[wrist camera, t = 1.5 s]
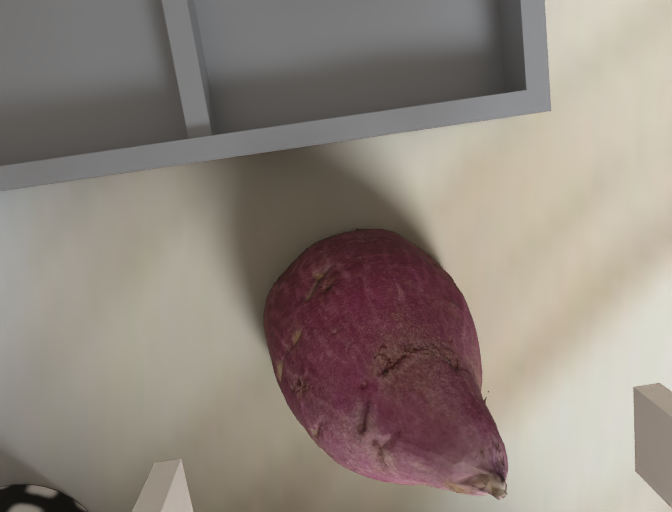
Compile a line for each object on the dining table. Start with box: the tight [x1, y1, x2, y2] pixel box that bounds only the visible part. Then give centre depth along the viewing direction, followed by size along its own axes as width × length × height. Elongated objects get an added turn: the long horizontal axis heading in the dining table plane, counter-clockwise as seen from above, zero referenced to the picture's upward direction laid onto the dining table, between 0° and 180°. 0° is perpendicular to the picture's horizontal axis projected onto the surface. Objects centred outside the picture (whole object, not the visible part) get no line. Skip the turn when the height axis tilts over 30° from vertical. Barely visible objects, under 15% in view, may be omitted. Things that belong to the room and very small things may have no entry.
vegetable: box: [264, 229, 508, 500], centre depth 23 cm, size 10×10×15 cm
